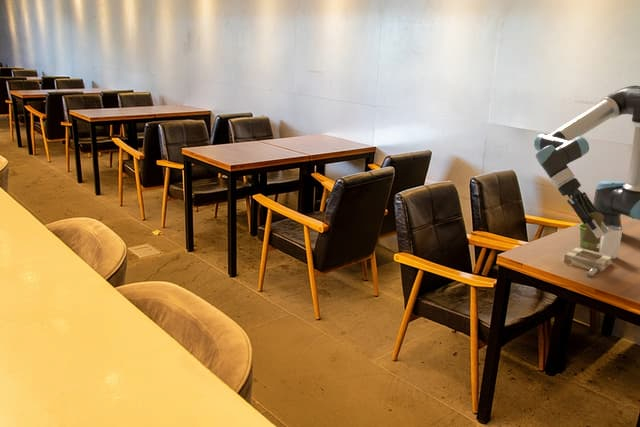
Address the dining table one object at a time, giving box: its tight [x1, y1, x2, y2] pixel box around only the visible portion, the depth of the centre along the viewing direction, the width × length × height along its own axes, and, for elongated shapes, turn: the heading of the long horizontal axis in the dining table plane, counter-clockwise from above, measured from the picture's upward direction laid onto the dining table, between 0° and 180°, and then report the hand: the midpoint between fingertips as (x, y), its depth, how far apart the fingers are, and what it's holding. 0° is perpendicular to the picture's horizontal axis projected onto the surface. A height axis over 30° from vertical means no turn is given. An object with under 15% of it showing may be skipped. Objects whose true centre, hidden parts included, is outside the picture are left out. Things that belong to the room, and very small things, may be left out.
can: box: [598, 225, 623, 260], centre depth 210 cm, size 6×6×12 cm
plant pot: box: [578, 223, 599, 251], centre depth 220 cm, size 9×9×9 cm
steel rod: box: [586, 266, 599, 278], centre depth 194 cm, size 10×2×2 cm, turn 136°
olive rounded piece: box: [582, 212, 604, 244], centre depth 200 cm, size 6×6×11 cm
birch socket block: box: [563, 246, 613, 273], centre depth 204 cm, size 13×13×3 cm
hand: (603, 234), depth 198 cm, fingers closed on olive rounded piece, 5 cm apart
